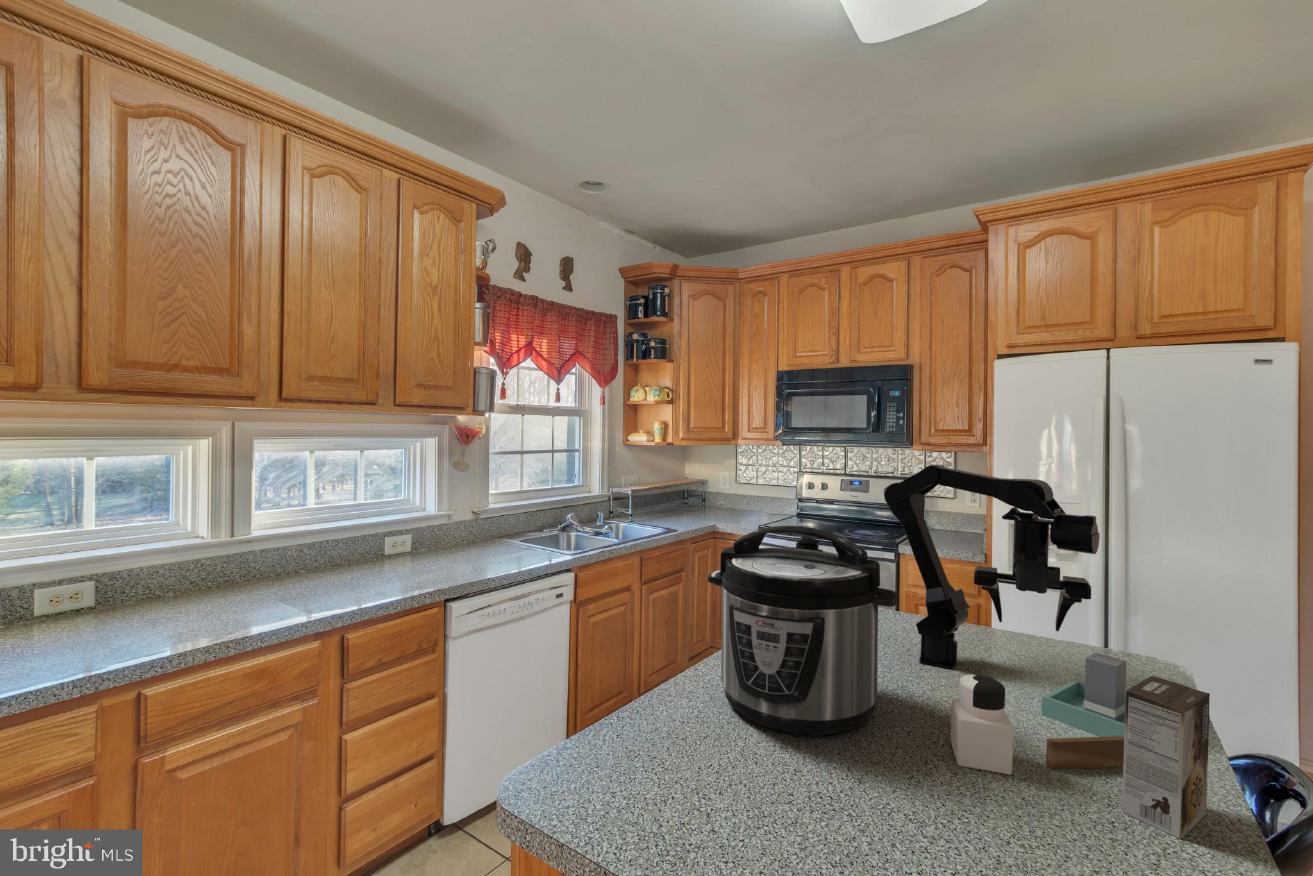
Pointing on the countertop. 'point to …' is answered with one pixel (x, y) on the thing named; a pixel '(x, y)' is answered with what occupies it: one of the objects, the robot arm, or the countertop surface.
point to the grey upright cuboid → (1105, 686)
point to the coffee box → (1166, 755)
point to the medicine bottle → (981, 725)
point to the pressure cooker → (800, 631)
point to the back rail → (1085, 752)
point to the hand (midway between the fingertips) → (1028, 626)
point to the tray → (1079, 711)
